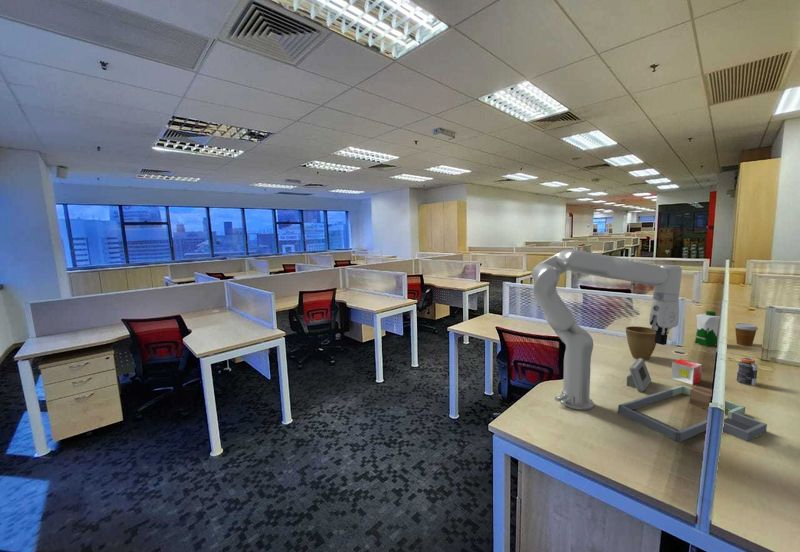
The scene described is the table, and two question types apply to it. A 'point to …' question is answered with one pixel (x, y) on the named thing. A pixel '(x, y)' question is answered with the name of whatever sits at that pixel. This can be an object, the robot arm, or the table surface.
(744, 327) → the disposable coffee cup
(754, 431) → the box
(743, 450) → the table surface
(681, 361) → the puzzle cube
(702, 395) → the walnut block
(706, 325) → the milk carton
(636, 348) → the plant pot
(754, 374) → the pill bottle
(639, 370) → the digital clock
